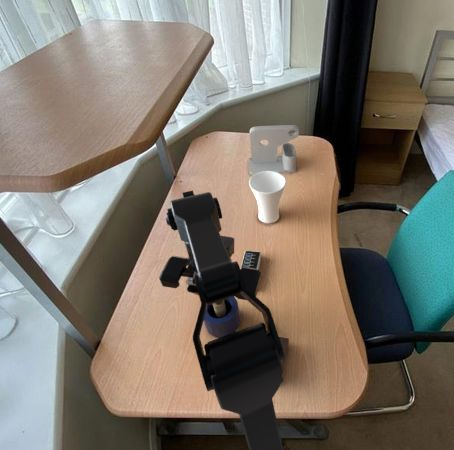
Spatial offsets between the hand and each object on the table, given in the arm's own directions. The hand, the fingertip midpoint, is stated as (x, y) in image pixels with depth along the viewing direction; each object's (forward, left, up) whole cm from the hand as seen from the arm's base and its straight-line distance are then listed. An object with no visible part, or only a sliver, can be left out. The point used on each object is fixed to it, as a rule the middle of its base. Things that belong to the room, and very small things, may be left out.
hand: (217, 300), depth 69 cm
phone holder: (+64, +3, -9) cm, 65 cm away
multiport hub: (+15, -2, -9) cm, 18 cm away
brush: (0, 0, -5) cm, 5 cm away
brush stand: (-7, -12, -9) cm, 17 cm away
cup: (+37, -2, -9) cm, 38 cm away
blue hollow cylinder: (0, 0, -9) cm, 9 cm away
